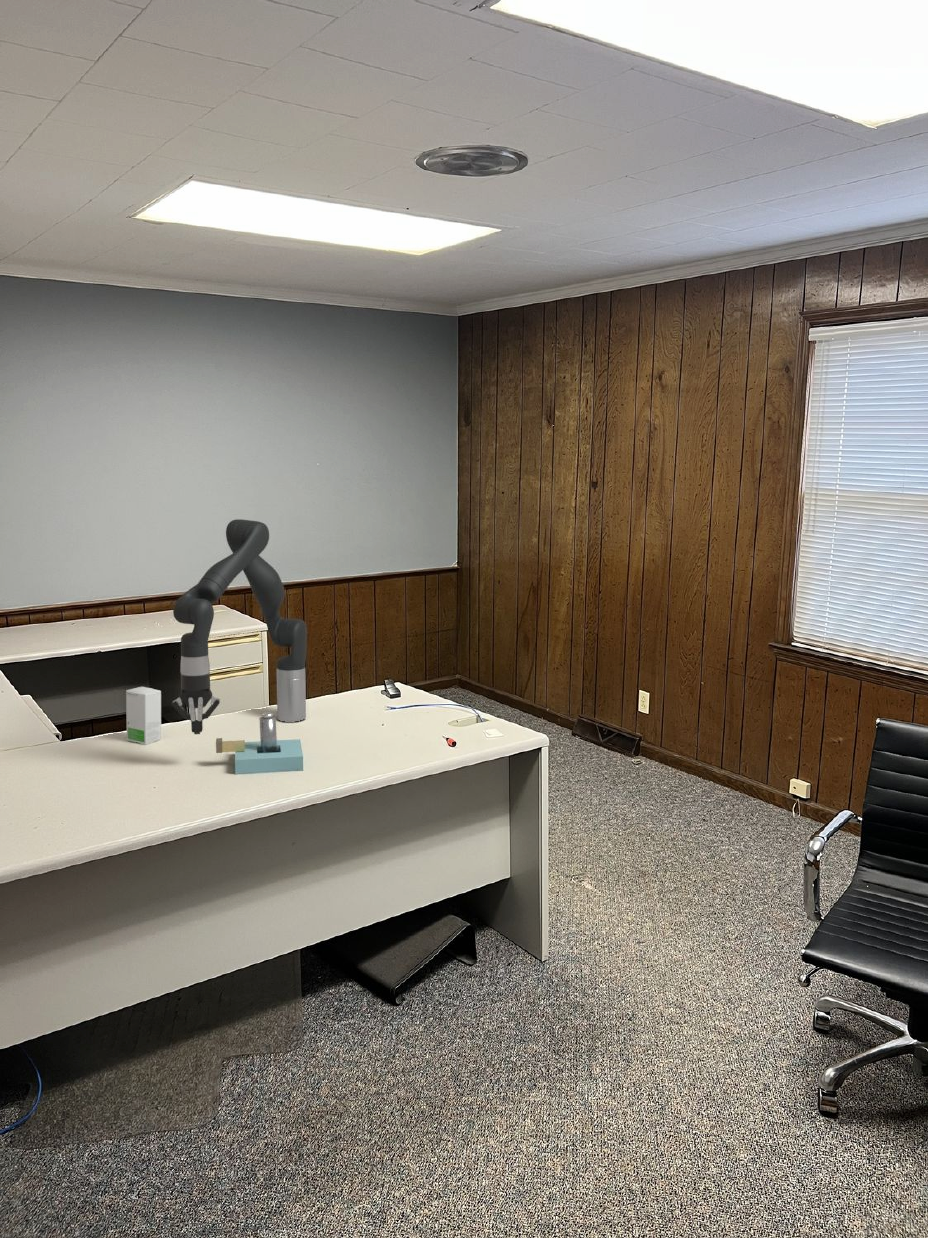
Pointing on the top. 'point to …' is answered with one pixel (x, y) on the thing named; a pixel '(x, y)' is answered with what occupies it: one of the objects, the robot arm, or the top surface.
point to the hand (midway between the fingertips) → (197, 733)
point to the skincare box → (143, 715)
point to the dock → (269, 758)
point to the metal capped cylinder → (268, 733)
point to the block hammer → (229, 746)
